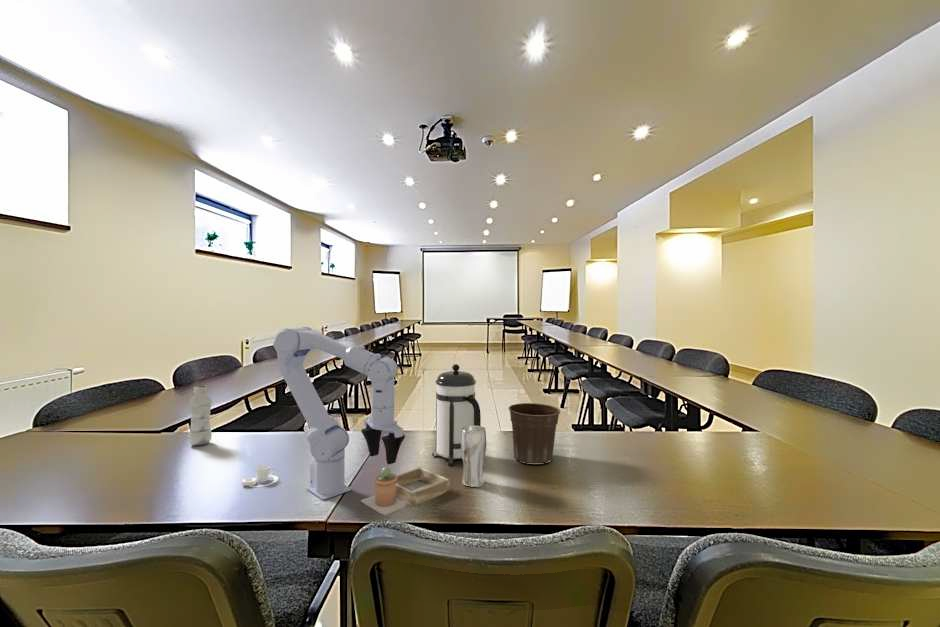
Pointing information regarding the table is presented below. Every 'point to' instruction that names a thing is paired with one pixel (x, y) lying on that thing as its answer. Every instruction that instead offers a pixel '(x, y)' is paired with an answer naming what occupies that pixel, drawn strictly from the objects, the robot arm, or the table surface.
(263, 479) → the teacup and saucer
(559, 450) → the table surface
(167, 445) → the table surface
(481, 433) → the silver drink can
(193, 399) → the plastic bottle
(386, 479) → the terracotta pot
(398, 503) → the grey mat
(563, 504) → the table surface
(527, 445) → the plant pot
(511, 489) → the table surface
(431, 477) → the frame
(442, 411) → the coffee press
